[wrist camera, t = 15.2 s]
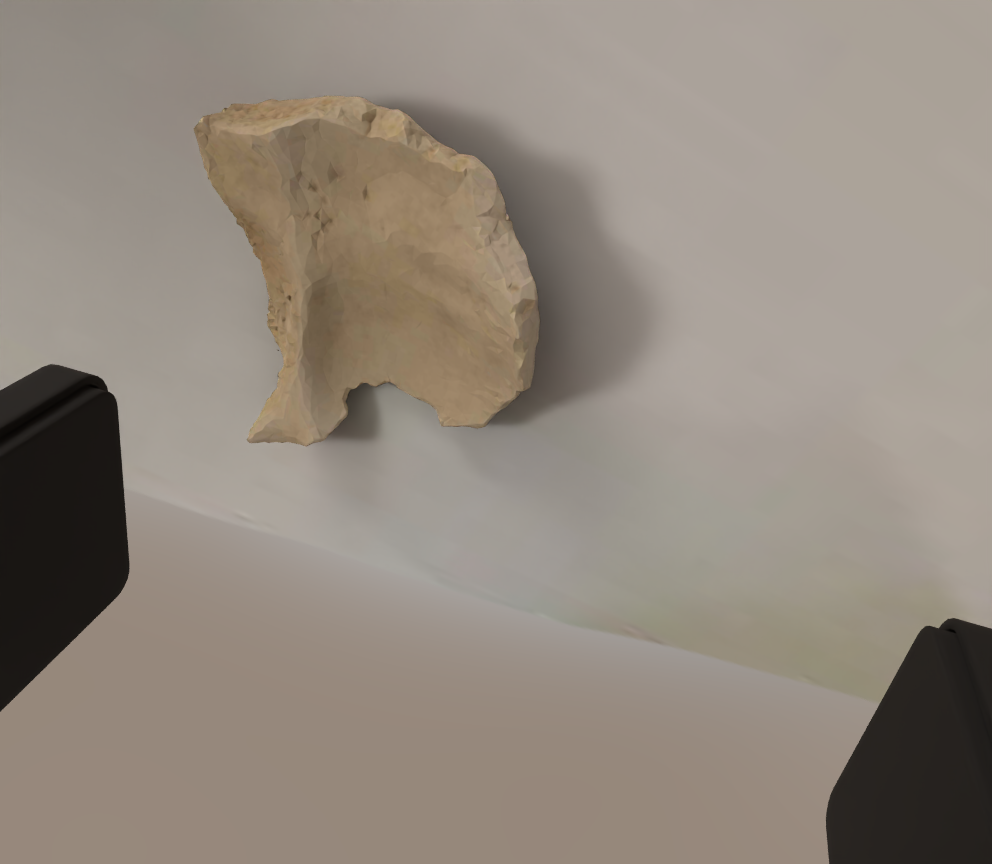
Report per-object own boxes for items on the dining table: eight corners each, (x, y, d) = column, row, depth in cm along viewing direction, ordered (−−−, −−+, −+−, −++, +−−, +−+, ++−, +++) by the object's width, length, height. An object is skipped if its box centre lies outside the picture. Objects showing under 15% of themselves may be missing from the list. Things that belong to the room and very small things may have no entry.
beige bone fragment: (554, 457, 44) (530, 505, 41) (290, 414, 48) (247, 454, 45) (563, 96, 35) (533, 117, 32) (238, 83, 40) (179, 100, 36)
